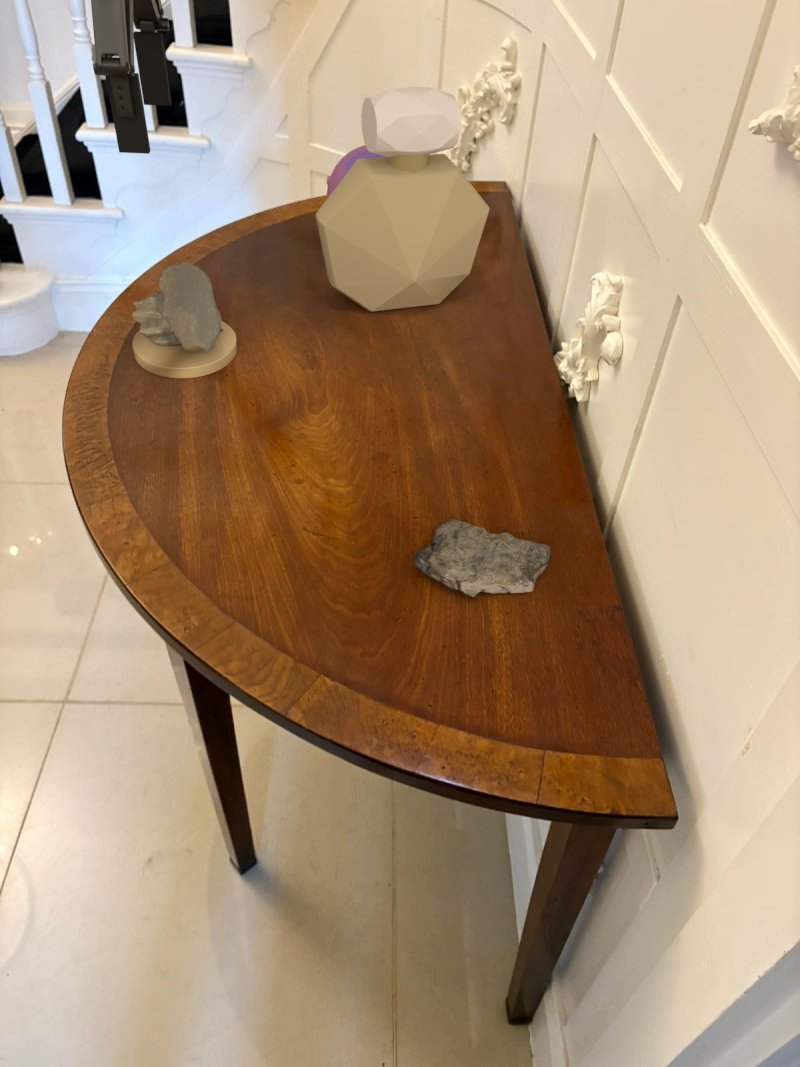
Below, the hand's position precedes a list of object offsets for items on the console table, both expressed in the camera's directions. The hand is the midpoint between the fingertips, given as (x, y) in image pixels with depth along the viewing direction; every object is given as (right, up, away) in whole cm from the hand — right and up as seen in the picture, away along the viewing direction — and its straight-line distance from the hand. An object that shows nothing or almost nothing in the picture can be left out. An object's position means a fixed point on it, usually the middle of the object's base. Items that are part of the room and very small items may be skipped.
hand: (147, 126), depth 78 cm
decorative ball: (+21, +6, +49) cm, 53 cm away
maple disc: (-3, -17, +24) cm, 29 cm away
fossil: (-3, -16, +22) cm, 28 cm away
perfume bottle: (+25, -6, +37) cm, 45 cm away
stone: (+33, -44, 0) cm, 55 cm away
